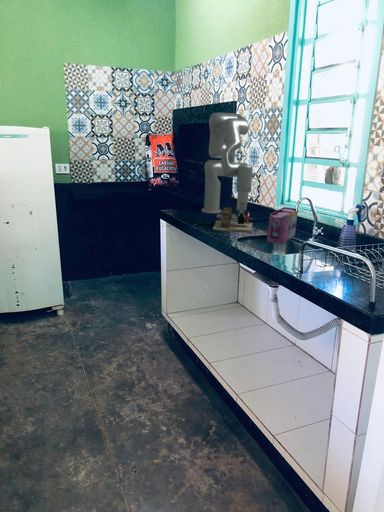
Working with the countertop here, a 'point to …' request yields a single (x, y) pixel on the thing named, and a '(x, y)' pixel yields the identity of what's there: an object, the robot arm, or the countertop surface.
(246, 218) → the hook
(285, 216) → the gum box
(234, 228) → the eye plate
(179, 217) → the countertop surface
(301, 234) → the countertop surface
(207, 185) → the robot arm
